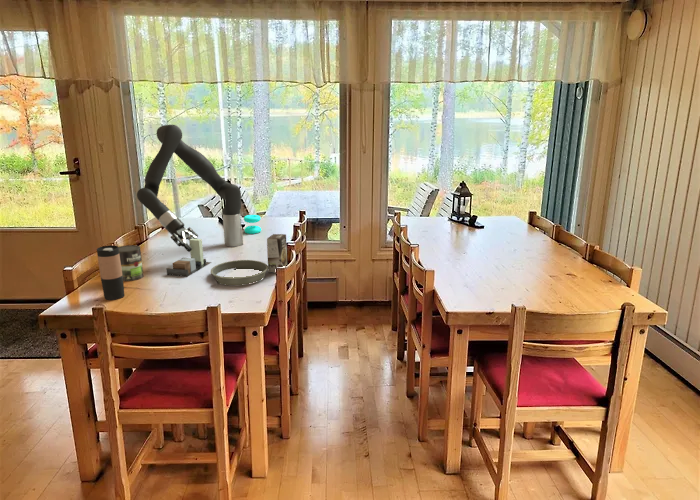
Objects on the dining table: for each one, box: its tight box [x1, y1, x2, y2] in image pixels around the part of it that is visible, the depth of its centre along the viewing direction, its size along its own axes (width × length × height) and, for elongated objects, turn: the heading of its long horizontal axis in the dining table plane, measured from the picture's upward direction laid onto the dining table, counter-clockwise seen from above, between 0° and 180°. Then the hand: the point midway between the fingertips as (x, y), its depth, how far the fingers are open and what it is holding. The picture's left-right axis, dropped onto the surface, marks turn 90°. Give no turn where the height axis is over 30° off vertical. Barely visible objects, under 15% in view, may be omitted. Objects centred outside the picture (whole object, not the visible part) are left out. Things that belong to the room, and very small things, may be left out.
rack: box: [165, 258, 212, 278], centre depth 218 cm, size 21×10×4 cm, turn 167°
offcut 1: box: [172, 260, 191, 273], centre depth 211 cm, size 4×6×5 cm, turn 77°
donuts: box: [243, 214, 262, 235], centre depth 285 cm, size 10×10×10 cm
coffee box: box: [266, 233, 288, 274], centre depth 217 cm, size 9×6×16 cm
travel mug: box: [96, 245, 125, 301], centre depth 184 cm, size 8×8×20 cm
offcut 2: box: [177, 257, 196, 272], centre depth 215 cm, size 4×6×5 cm, turn 77°
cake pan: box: [210, 259, 268, 286], centre depth 209 cm, size 25×25×4 cm
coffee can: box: [118, 244, 144, 282], centre depth 205 cm, size 10×10×14 cm
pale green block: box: [188, 238, 205, 265], centre depth 222 cm, size 2×5×12 cm, turn 77°
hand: (195, 248), depth 222 cm, fingers open, 8 cm apart
